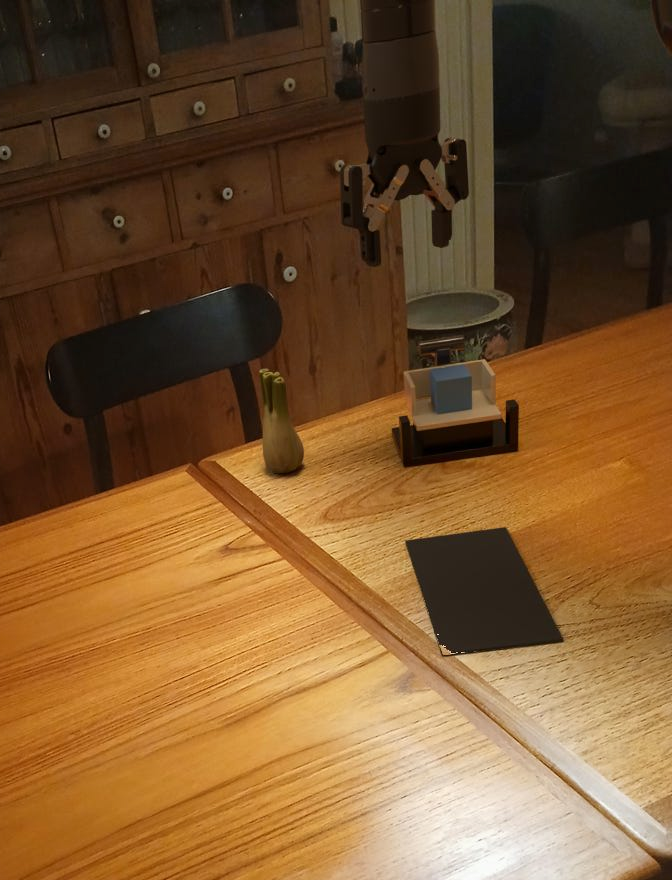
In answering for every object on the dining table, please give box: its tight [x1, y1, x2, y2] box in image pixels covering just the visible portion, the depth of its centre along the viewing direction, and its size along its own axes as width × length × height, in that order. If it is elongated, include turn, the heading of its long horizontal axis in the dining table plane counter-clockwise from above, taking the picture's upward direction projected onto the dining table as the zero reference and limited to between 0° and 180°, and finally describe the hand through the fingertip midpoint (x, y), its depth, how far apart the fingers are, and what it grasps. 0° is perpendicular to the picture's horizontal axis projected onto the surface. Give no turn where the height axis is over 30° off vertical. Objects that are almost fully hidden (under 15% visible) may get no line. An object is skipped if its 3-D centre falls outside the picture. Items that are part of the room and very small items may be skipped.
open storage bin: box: [403, 334, 503, 431], centre depth 114 cm, size 10×11×7 cm
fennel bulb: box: [258, 368, 305, 474], centre depth 116 cm, size 6×5×12 cm
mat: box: [404, 526, 564, 654], centre depth 91 cm, size 10×20×1 cm, turn 179°
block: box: [430, 364, 472, 414], centre depth 114 cm, size 4×4×4 cm
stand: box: [390, 399, 520, 468], centre depth 116 cm, size 13×10×6 cm
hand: (407, 255), depth 107 cm, fingers open, 8 cm apart
